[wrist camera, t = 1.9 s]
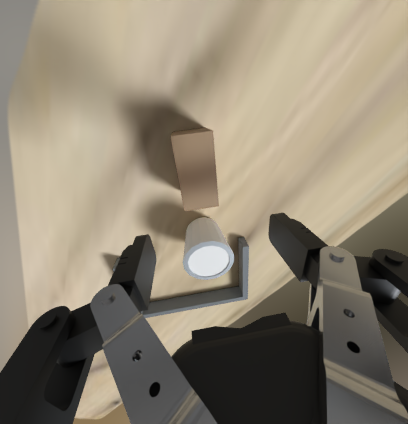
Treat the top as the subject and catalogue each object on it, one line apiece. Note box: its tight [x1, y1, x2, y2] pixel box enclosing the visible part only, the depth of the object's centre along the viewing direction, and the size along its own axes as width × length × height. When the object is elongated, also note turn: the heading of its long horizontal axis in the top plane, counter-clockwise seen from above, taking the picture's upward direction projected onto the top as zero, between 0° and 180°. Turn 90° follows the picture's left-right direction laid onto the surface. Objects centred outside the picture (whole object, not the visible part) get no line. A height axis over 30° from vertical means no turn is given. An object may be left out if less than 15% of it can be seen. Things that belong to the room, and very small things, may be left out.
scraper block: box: [170, 128, 219, 211], centre depth 20 cm, size 8×4×6 cm, turn 6°
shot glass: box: [183, 217, 234, 280], centre depth 26 cm, size 7×7×7 cm
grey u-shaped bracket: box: [113, 237, 249, 318], centre depth 32 cm, size 14×22×2 cm, turn 96°
